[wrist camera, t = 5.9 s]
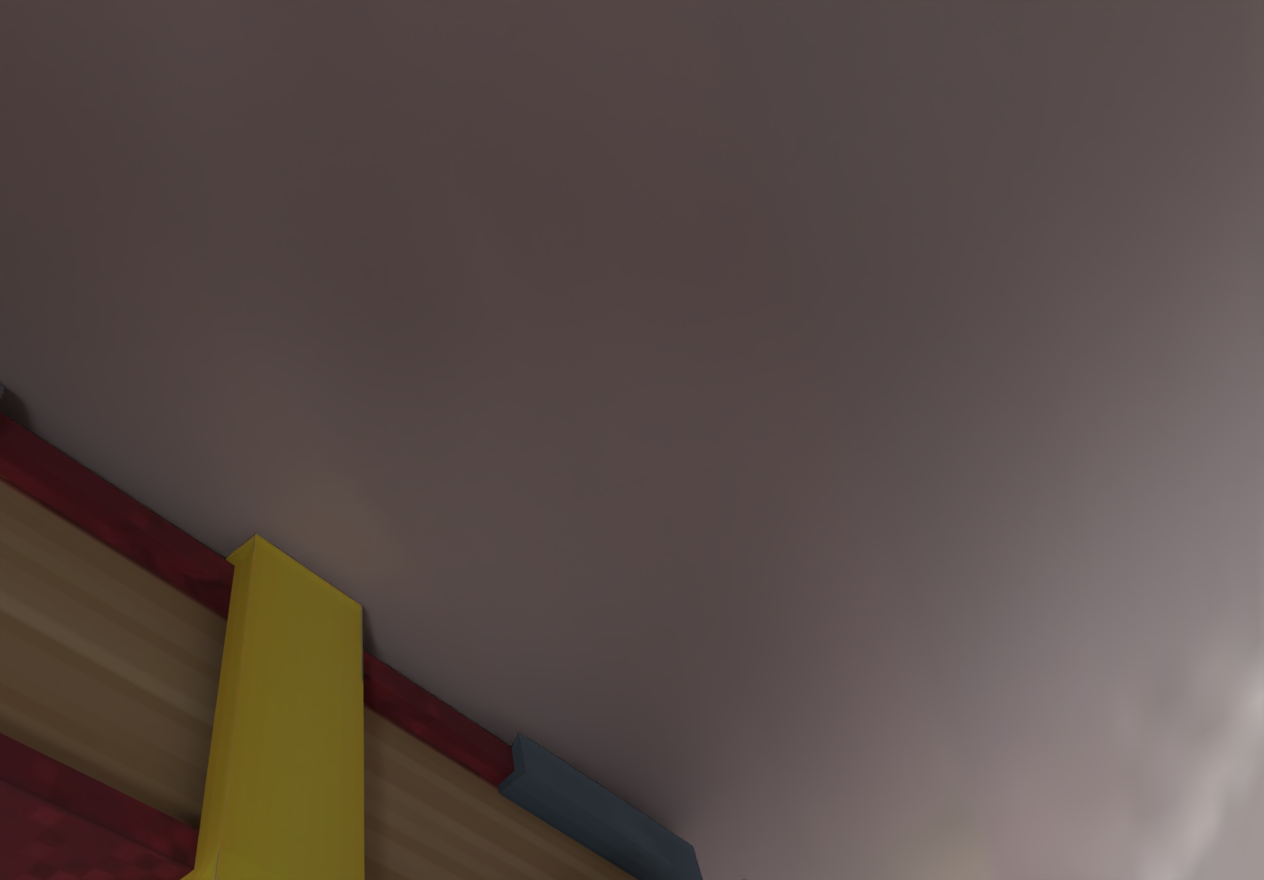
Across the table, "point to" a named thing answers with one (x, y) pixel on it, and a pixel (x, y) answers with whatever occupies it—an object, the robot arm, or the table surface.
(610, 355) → the table surface
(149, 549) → the decorative book
